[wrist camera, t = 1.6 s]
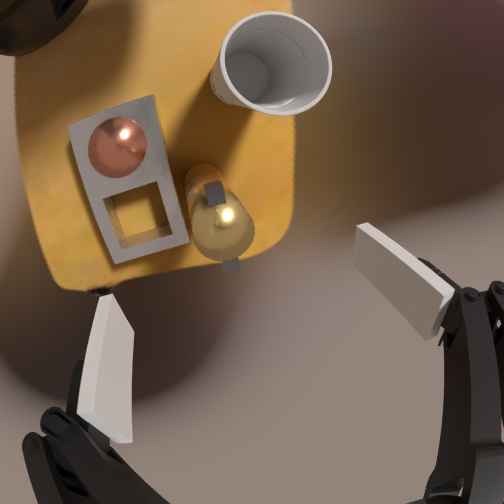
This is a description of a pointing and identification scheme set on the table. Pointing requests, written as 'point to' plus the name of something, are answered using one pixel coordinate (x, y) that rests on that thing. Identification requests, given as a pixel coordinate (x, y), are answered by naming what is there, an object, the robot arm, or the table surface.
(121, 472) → the robot arm
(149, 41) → the table surface
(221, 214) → the brass cylinder with tabs
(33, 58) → the table surface
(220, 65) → the cup
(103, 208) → the plate with copper dome
